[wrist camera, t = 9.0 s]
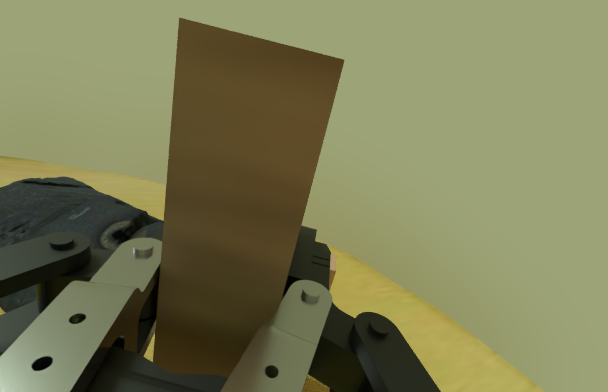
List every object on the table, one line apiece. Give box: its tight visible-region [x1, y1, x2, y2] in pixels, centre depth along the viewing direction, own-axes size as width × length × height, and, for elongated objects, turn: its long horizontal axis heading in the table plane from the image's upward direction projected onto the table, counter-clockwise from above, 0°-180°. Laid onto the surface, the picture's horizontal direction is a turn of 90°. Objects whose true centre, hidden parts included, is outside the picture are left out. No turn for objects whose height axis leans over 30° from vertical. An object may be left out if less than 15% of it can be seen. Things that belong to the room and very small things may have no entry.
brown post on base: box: [153, 18, 344, 378], centre depth 10 cm, size 9×6×15 cm, turn 173°
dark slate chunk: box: [0, 177, 164, 313], centre depth 28 cm, size 15×22×5 cm
